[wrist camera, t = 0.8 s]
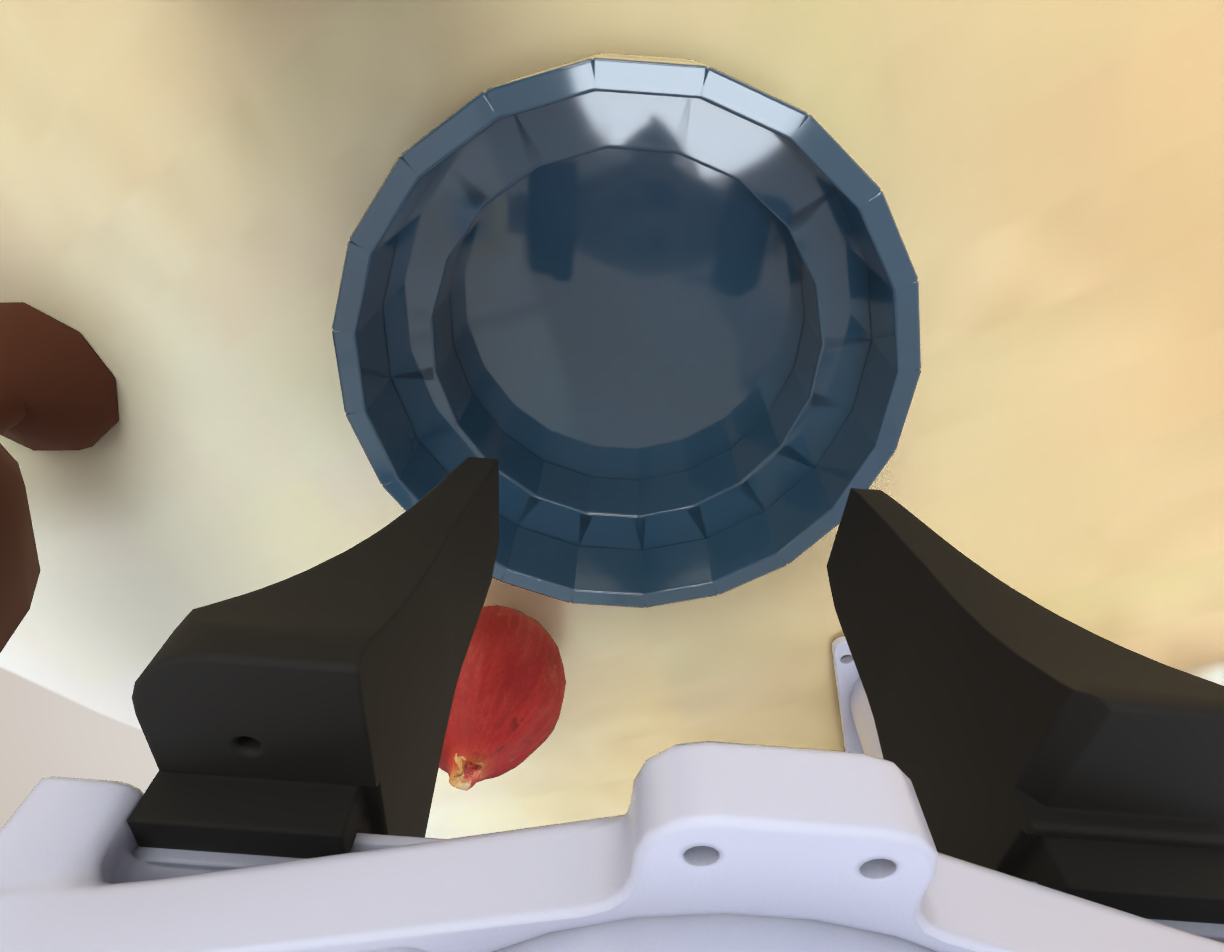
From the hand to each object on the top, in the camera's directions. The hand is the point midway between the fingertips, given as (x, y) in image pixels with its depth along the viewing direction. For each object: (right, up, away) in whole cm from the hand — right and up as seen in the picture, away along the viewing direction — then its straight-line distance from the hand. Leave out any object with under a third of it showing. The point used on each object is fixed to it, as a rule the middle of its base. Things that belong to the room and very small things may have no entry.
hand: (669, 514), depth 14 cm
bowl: (-1, +6, +8) cm, 10 cm away
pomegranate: (-6, -5, +15) cm, 17 cm away
